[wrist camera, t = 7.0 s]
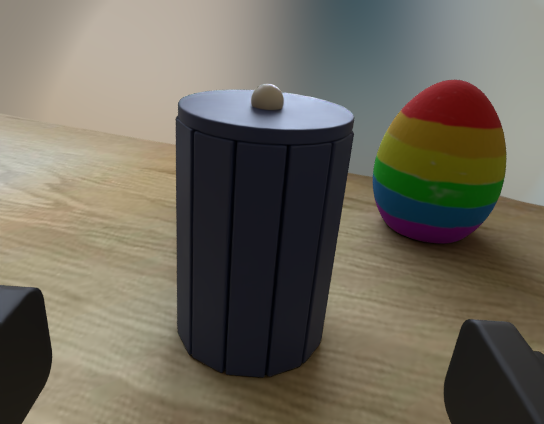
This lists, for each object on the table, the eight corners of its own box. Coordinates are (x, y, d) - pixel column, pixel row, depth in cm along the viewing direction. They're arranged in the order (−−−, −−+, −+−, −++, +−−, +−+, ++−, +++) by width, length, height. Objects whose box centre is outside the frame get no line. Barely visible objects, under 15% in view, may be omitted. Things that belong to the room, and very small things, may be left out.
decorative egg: (459, 269, 27) (510, 99, 23) (343, 222, 32) (367, 73, 28) (500, 228, 33) (546, 86, 29) (396, 193, 38) (423, 67, 33)
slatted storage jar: (210, 397, 17) (220, 106, 12) (161, 301, 22) (155, 68, 18) (348, 350, 20) (396, 100, 15) (277, 275, 25) (298, 70, 20)
